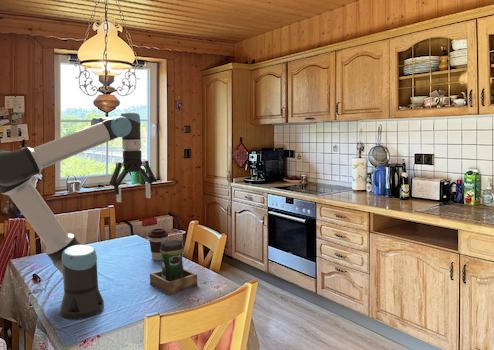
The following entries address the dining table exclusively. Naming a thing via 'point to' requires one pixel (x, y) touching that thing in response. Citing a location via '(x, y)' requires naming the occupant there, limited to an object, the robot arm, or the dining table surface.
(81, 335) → the dining table surface
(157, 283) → the walnut caddy
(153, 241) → the coffee cup
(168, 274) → the coffee jar
